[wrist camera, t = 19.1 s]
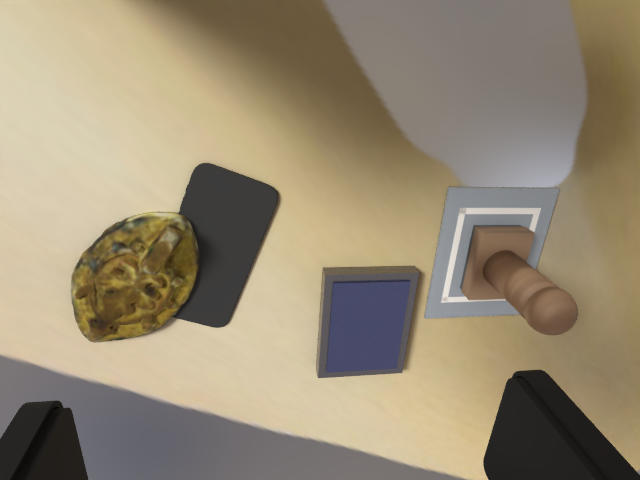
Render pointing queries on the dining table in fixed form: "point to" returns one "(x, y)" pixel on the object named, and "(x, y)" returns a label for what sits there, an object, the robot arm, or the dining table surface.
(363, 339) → the ink pad
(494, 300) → the stamp card
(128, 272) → the brass ornament
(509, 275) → the stamp
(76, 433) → the robot arm
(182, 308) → the phone
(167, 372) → the dining table surface
